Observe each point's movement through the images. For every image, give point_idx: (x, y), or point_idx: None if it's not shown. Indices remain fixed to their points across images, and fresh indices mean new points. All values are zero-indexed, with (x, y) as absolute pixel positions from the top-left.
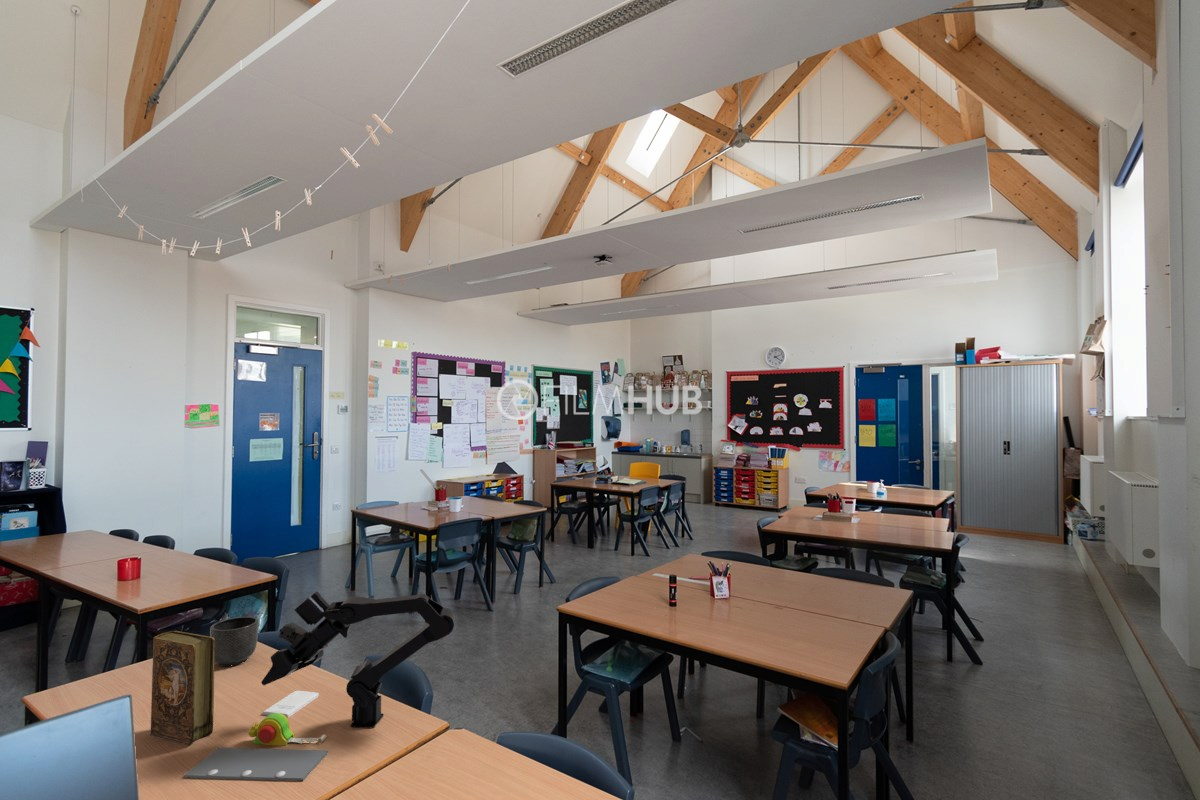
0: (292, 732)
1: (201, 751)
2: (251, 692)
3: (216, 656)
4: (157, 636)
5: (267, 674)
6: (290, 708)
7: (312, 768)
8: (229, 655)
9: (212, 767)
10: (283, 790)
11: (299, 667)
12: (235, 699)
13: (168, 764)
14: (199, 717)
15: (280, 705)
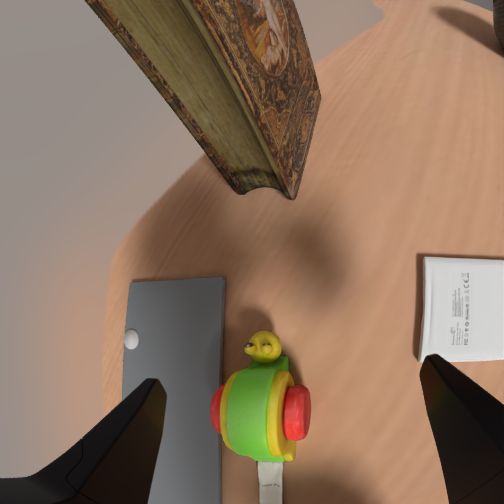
0: (290, 458)
1: (221, 240)
2: (492, 143)
3: (496, 29)
4: None
5: (96, 430)
6: (455, 341)
7: None
8: None
9: (147, 325)
10: None
11: (454, 491)
12: (455, 130)
13: (177, 213)
14: (254, 154)
15: (467, 287)
